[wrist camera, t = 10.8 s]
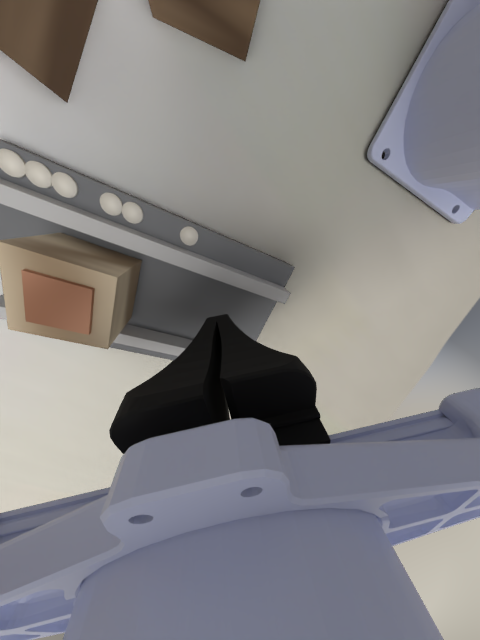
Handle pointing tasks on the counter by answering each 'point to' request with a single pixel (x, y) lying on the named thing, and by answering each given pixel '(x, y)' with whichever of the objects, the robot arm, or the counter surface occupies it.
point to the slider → (67, 288)
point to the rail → (144, 253)
